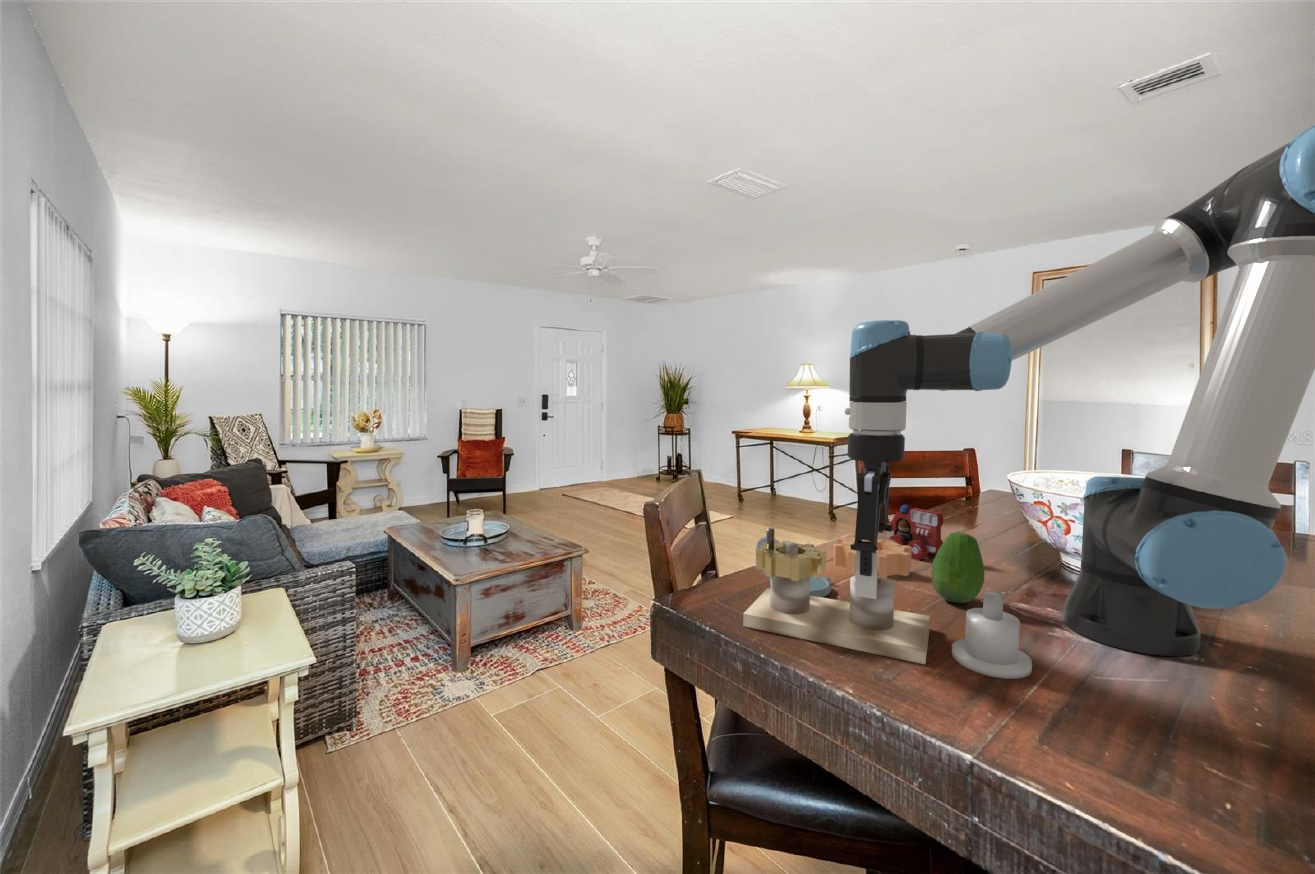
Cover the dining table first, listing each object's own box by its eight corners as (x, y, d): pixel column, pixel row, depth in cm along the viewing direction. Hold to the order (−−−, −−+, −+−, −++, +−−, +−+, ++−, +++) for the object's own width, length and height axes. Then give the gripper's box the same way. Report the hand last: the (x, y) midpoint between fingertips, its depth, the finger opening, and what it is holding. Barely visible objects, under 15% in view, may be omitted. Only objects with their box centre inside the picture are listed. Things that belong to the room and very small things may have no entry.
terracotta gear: (912, 561, 81) (913, 541, 81) (907, 582, 73) (908, 560, 72) (841, 551, 86) (842, 533, 86) (828, 570, 77) (828, 549, 77)
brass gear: (830, 564, 87) (831, 527, 87) (816, 584, 78) (816, 543, 78) (768, 555, 92) (768, 520, 92) (748, 573, 83) (748, 535, 83)
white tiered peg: (1027, 653, 74) (1030, 589, 73) (1035, 685, 66) (1039, 613, 65) (952, 639, 78) (954, 578, 78) (951, 668, 70) (954, 600, 70)
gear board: (929, 628, 82) (932, 550, 81) (925, 664, 71) (928, 574, 70) (767, 599, 94) (767, 530, 93) (743, 626, 83) (743, 549, 82)
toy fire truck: (902, 544, 126) (903, 500, 125) (951, 559, 115) (953, 510, 114) (880, 548, 123) (881, 503, 122) (928, 564, 112) (930, 514, 111)
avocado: (984, 614, 87) (987, 540, 86) (929, 604, 91) (931, 534, 90) (982, 597, 94) (985, 528, 93) (931, 589, 98) (934, 523, 97)
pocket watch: (750, 530, 98) (812, 520, 105) (750, 589, 99) (811, 575, 106) (790, 544, 89) (854, 531, 96) (789, 609, 90) (852, 591, 97)
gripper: (860, 426, 89) (856, 559, 91) (833, 437, 70) (828, 606, 72) (911, 427, 86) (905, 566, 88) (897, 440, 66) (890, 618, 68)
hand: (871, 584), depth 80 cm, fingers closed on terracotta gear, 10 cm apart
